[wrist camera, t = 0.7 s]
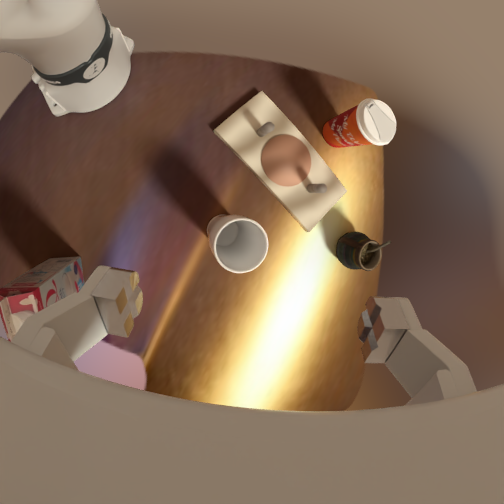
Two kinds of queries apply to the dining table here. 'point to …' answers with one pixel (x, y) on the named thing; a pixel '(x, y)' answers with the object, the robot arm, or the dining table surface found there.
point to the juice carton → (38, 290)
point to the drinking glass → (237, 242)
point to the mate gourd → (359, 251)
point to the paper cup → (361, 125)
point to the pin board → (282, 160)
